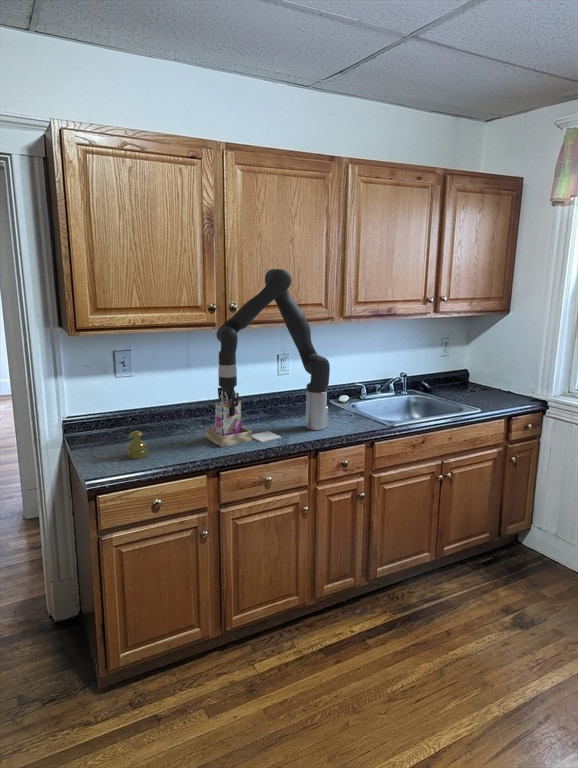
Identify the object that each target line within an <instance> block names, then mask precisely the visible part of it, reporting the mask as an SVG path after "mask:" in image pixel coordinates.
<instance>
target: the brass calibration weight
mask: <svg viewBox="0 0 578 768" xmlns="http://www.w3.org/2000/svg"><path fill="white" fill-rule="evenodd" d="M143 434H144V433H143V432H142V431H140V430H134V431H132V432H131V433H129V437H130V438H132V440H131V441H130V442H129V443H128V444H127V446H126V450H127V451H126V452H127V457H128V458H129V459H131V460H139V459H143V458H146V457H147V456H148V449H147V448H148V446H147V443H146V442H144V441H143V440H141V437H142V436H143Z"/></svg>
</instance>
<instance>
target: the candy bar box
mask: <svg viewBox="0 0 578 768" xmlns="http://www.w3.org/2000/svg"><path fill="white" fill-rule="evenodd" d="M230 400H232V399H230ZM231 403H232V402H231ZM235 404H236V402H235ZM214 419H215V421H214V424H215V426H214V427H215V433H216V434H218V435H220V436H222V437H223V436H228V435H233V434H238V433H241V426H242V400H240V399H238V406H236V407H235V415H234V416H230V415H229V403H228V402H227V401H223V402H219V401H218V402H215V403H214Z"/></svg>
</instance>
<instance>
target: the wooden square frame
mask: <svg viewBox="0 0 578 768" xmlns="http://www.w3.org/2000/svg"><path fill="white" fill-rule="evenodd" d="M204 430H205V431H204V432H205V434H204V437H205V438H206V439H207V440H209V441H211V442H212V443H214V444H216V445H218V446H220V447H221V448H222V447H228V446H233V445H238V444H242V443H247V442H251V441H253V438H252V434H253V430H250V429H248V428H247V427H244V426H242V425H241V433H238V434H233V435H228V436H223V437H222V436H220V435H218V434H216V433H215V426H212V427H206V428H204Z"/></svg>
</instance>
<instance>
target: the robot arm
mask: <svg viewBox="0 0 578 768" xmlns="http://www.w3.org/2000/svg"><path fill="white" fill-rule="evenodd" d="M264 283H265V286H264V287H263V289H261V291H260V292H258V293H257V294H256V295H255V296H253V297H252V298H251V299H249V300H247V302H245V303H244V304H243V305H242V306H241V307H240V308H239V309H238V310H237V311H236V312H235V313H234V315H233V316H231V317H230V318H228V319H227V320H226V321H225V322H224V323H223V324H221V326H219V327H218V329H217V331H216V338H217V340H218V341H219V343H220V351H218V375H217V376H218V387H217V395H218V403H219V402H223V401H227V402H228V403H229V415H230V416H234V415H235V407H236V406H238V400H239V395H240V394H239V392H236V391H235V387H237V385H238V382H237V381H238V380H237V379H238V377H237V376H238V373H237V369H238V368H237V358H236V357H237V356H236V353H237V348H238V333H239V332H240V331H241V330H244V329H245V328H247V327H248V326H249V325H250V324H251V323H252V322H253V321H254V319H256V318H257V317H258V315H259V314H260V313H261V312H262V311H263V310H264V309H265V308H266V307H267V306H269V305H270V303H272V302H274V301H275V303H276V305H277V307H278V310H279V312H280V315H281V317H282V319H283V321H284V324H285V326H286V328H287V330H288V333H289V334H290V337H291V339H292V341H293V343H294V345H295V347H296V348H297V351H298V353H299V354H298V355H299V357H300V360H301V362H302V365H303V368H304V370H305V371H306V373H308V374H309V375H310V381H309V383H307V384H306V392H305V393H306V397H305V398H306V400H305V403H306V404H305V428H306V429H308V430H311V431H313V430H314V431H320V430H321V431H322V430H325V429H326V428H328V427H329V407H328V406H327V405H328V404H327V403H328V402H327V401H328V400H327V398H328V396H327V395H328V394H327V393H328V387H329V384H330V383H329V382H330V373H331V372H330V370H331V368H330V367H331V365H330V362H329V360H328V359H327V358H326V357H325V356H322V355H319V354H318V353H317V351H316V349H315V347H314V345H313V342H312V334H311V327H310V324H309V322H308V319H307V317H306V315H305V313H304V311H303V309H301V307H300V306H299V305H298V303H297V302H296V301H295V299H293V297H292V295H291V292H290V290H289V288H290V287H291V284H292V275H291V273H290V272H288V270H285V269H282V268H281V269H280V268H272V269H270V270H268V271H267V272H266V273H265V274H264ZM231 399H232V400H231ZM231 402H232V403H231ZM235 402H236V404H235Z"/></svg>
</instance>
